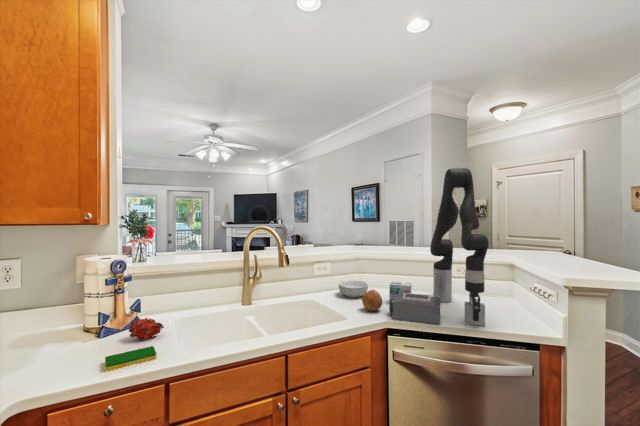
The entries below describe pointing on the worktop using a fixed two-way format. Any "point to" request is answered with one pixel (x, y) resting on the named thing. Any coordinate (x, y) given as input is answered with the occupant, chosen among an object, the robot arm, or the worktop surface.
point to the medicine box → (470, 314)
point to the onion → (372, 300)
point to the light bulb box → (399, 289)
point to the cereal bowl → (353, 288)
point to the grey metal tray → (416, 308)
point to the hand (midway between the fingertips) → (474, 317)
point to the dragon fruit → (145, 328)
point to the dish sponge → (129, 358)
